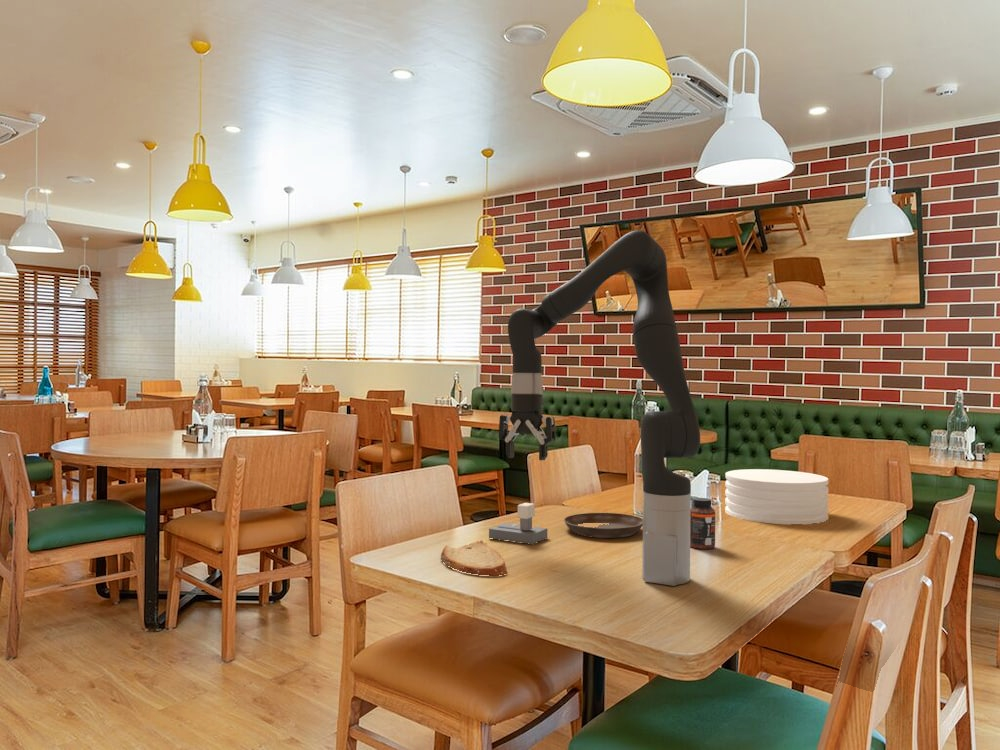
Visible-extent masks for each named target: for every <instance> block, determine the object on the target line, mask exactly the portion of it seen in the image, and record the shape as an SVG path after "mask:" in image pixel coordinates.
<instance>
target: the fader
mask: <svg viewBox="0 0 1000 750" xmlns="http://www.w3.org/2000/svg"><path fill="white" fill-rule="evenodd" d="M535 507H536V504H535V503H531V502H524V503H519V504H518V505H517V519H518V518H519V525H520V530H526V531H528V530H530V529H532V526H533V517H535V514H536V513H535V511H536V510H535Z"/></svg>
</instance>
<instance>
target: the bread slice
mask: <svg viewBox="0 0 1000 750" xmlns="http://www.w3.org/2000/svg"><path fill="white" fill-rule="evenodd" d="M441 560H442V561H443V562H444V563H445V564H446V565H447V566H450V567H452V568H454V569H457V570H459V571H462V572H466V573H471V574H478V575H489V576H499V575H504V574H507V573H508V570H507V566H506V563H505V560H504V558H503V557H502V556H501V554H499V552H498V551H497V550H496V549H494V548H493V547H492V546H490V545H489V544H487V542H484V541H483V540H477V541H475V542H472V543H469V544H465V545H463V546H460V547H451V546H449V545H445V546H444V548H443V549H442V551H441V554H440V561H441ZM442 561H441V562H442ZM507 575H508V574H507Z"/></svg>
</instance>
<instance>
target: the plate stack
mask: <svg viewBox="0 0 1000 750" xmlns="http://www.w3.org/2000/svg"><path fill="white" fill-rule="evenodd" d="M724 474H725V479H726V480H725V484H724V485H725V486H724V487H726V488H725V492H724V494H725V496H726V497H725V498H724V504H725V505H726V506H725V507H724V509H725V510H724V512H725V514H727V515H729V516H730V517H731V516H732V517H734V518H737V519H741V520H745V521H751V522H757V523H764V524H775V525H791V524H803V525H813V524H812V523H817V524H821V523H820V522H822V523H825V522H827V521H829V514H828V512H829V504H828V503H829V496H828V495H827V494H829V487H828V485H829V483H830V482H829V477H827V476H824V475H822V474H815V473H813V472H812V473H811V472H806V471H798V470H796V471H795V470H785V469H783V470H782V469H766V468H765V469H763V468H762V469H761V468H754V469H753V468H752V469H747V468H746V469H745V468H744V469H733V470H729V471H726V472H725V473H724ZM826 520H827V521H826ZM824 521H825V522H824Z"/></svg>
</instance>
